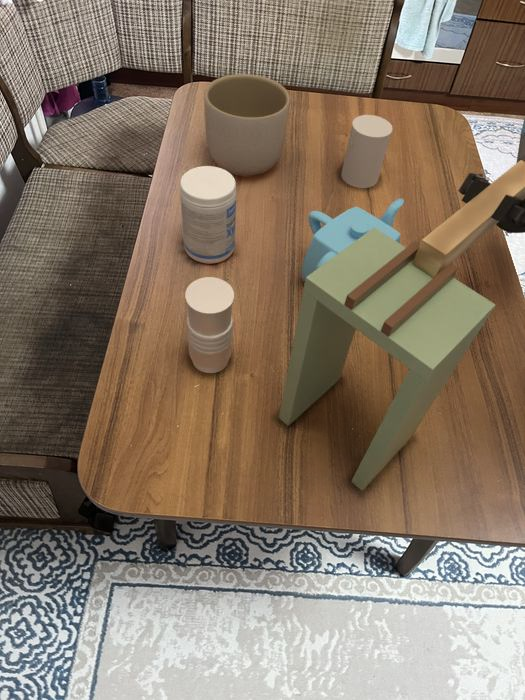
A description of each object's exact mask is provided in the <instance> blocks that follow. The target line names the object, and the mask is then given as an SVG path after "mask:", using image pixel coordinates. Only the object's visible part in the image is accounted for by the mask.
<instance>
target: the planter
mask: <svg viewBox="0 0 525 700" xmlns="http://www.w3.org/2000/svg"><path fill="white" fill-rule="evenodd" d="M203 103H204V124H205V125H204V126H205V138H206V140H205V141H206V145H207V149H208V153H209V156H210V157H211V159H212V161H213V162H214V163H215V164H216V165H217V167H218V168H221V169H224V170H226V171H228V172H229V173H230V174H231V175H233V176H234V175H235V176H239V177H253V176H257V175H261V174H263V173H266V172H267V171H269V170H271V169H272V168H273V167H274V166H275V165H276V164H277V163H278V161H279V159H280V157H281V156H282V152H283V149H284V145H285V140H286V134H287V127H288V120H289V113H290V105H291V95H290V93H289V91H288V90H287V89H286V88H285V86H284V85H282V84H281V83H279V82H277V81H275V80H273V79H271V78H268V77H265V76H261V75H256V74H250V73H249V74H248V73H237V74H234V73H233V74H229V75H225V76H221V77H218V78H216V79H214V80H212V81H211V82H210V83H209V84H207V86H206V87H205V89H204V92H203Z"/></svg>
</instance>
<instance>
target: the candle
mask: <svg viewBox="0 0 525 700" xmlns="http://www.w3.org/2000/svg"><path fill="white" fill-rule="evenodd" d="M184 294H185V295H184V298H185V299H184V300H185V302H186V305H187V317H186V333H187V343H188V354H189V355H188V356H189V357H190V360H191V362H192V364H193V366H194V368H196V369H197V370H198V371H200V372H202V373H205V374H216V373H219V372H221V371H223V370H224V369H226V368H227V366H228V364H229V361H230V358H231V356H232V354H233V353H232V352H233V350H232V343H233V339H234V316H233V314H232V313H233V304H234V301H235V291H234V288H233V287H232V286H231V284H230V283H228V282H227V281H226V280H224V279H221V278H219V277H213V276H205V277H200V278H197V279H196V280H193V281H192V282H191V283H189V285H188V286H187V288H186V290H185V292H184Z"/></svg>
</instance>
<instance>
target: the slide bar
mask: <svg viewBox="0 0 525 700" xmlns="http://www.w3.org/2000/svg"><path fill="white" fill-rule="evenodd" d="M491 183H492V184H490V185H489V186H488V187H487V188H485V189H484V190H483V191H482V192H480V193H479V194H478V195H477V196H475V197H474V198H473V199H472V200H471V201H469V202H468V203H467V204H466V203H465V204H464V205H463V206H462V207H460V209H458V210H457V211H455V212H454V213H453V214H452V215H450V216H449V217H448V218H447V219H445V220H444V221H443V222H442V223H441V224H439V225H438V226H437V227H436V228H435V229H434V230H432V231H431V232H430V233H428V234H427V235H426V236H424V237H423V238H422V239H421V241H420V242H419V243H420V246H419V248H418V251H417V253H416V255H415V258H414V260H413V263H412V264H413V265H415V266H417V267H418V268H420V269H421V270H423V271H424V272H426V273H427V274H429V275H430V276H432V277H435V276H436V275H438V274H439V273H440V272H441V271H442V270H443V269H444V268H446V267H447V266H448V265H449V264H450V263H452V264H454V262H455V261H456V260H457V259H459V257H461V256H462V255H463V254H464V253H465V252H466V251H467V250H469V249H470V248H471V247H472V246H473V245H474V244H475V243H476V242H478V241H479V240H480V239H481V238H482V237H483V236H485V234H487V233H488V232H489V231H490V230H492V228H494V227H495V226H497V225H496V224H497V223H498V222H499V221H497V220H495V219H493V218H491V216H492V215H493V213H494V212H495V210H496V209H497V207H498V206H499V204H500V203H501V201H502V200H503V198H504V197H505V195H509V196H513V197H517V198H519V199H521V200H524V199H525V155H523V156H522V157H521V158H520V159H519V161H518V163H515V164H514V165H512V166H511V167H510V168H509V169H507V170H506V171H505V172H504V173H503V174H502V175H500V176H498V178H496V179H495V180H494V181H493V182H491Z"/></svg>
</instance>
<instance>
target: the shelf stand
mask: <svg viewBox="0 0 525 700" xmlns="http://www.w3.org/2000/svg"><path fill="white" fill-rule="evenodd" d="M420 243H421V242H418V241H417V240H414V241H413V242H411V243H410V244H409V245H408V246H404V245H403V244H401V243H398V242H397V241H395V240H393V239H392V238H390V237H389V236H387V235H386V234H384V233H382V232H381V231H379V230H378V229H376V228H375V227H374V228H372V229H371V230H370V231H368V232H367V233H366V234H364V235H363V236H362V237H360V238H359V239H357V240H356V241H355V242H353V243H352V244H351V245H349V246H348V247H347V248H345V249H344V250H342V251H341V252H340V253H338V254H337V255H336V256H334V257H333V258H332V259H330V260H329V261H327V262H326V263H325V264H323V265H322V266H321V267H319V268H318V269H317V270H315V271H314V272H312V273H311V274H310V275H308V276H307V277H306V279H305V281H304V286H303V290H302V295H301V299H300V300H301V301H300V305H299V310H298V314H297V315H298V317H297V321H296V326H295V331H294V336H293V341H292V346H291V352H290V357H289V362H288V368H287V372H286V377H285V383H284V388H283V392H282V393H283V394H282V399H281V404H280V409H279V414H278V418H279V420H281V421H282V422H283V423H284V424H285V425H286V426H287V427H289V426H290V425H291V424H293V422H295V421H296V420H297V419H298V418H299V417H300V416H301V415H302V414H303V413H304V412H305V411H306V410H308V408H310V407H311V406H312V405H313V404H314V403H316V401H318V400H319V399H320V398H322V396H323V395H324V394H326V392H328V391H329V390H330V389H331V388H332V387H333V386H334V385H335V384H336V383H338V382H339V381H340V377H341V376H342V372H343V369H344V366H345V363H346V360H347V357H348V354H349V352H350V348H351V345H352V343H353V339H354V337H355V334H356V330H357V331H358V332H359V333H361V335H363V336H365V337H366V338H368V339H369V340H370V341H371V342H373V343H374V344H375V345H377V346H378V347H380V348H381V349H382V350H384V351H385V352H386V353H388V354H389V355H391V356H392V357H394V359H396V360H397V361H399V362H400V363H401V364H402V365H404V366H405V367H407V368H408V371H407V373H406V375H405V376H404V378H403V380H402V382H401V384H400V386H399V388H398V389H397V392H396V394H395V396H394V397H393V400H392V401H391V402H390V403H391V404H390V405H389V407H388V408H387V411H386V413H385V415H384V416H383V419H382V421H381V422H380V425H379V426H378V428H377V431H376V433H375V435H374V436H373V438H372V440H371V442H370V444H369V446H368V448H367V450H366V451H365V453H364V455H363V458H362V459H361V461H360V462H359V465H358V467H357V469H356V471H355V473H354V475H353V477H352V479H351V481H350V482H351V483H352V484H353V485H354V486H356V488H358V489H359V490H360V491H361V492H363V491H364V490H365V489H366V488H367V487H368V485H369V484H370V483H371V482H372V481H373V480H374V479H375V478H376V477H377V476H378V475H379V474H380V472H382V470H383V469H384V468H385V467H386V466H387V465H388V464H389V462H390V461H391V460H392V459H393V458H394V457H395V456H396V455H397V454H398V453H399V451H400V450H401V449H402V448H403V447H405V445H406V444H407V442H409V440H411V438H412V437H413V435H414V434H415V432H416V431H417V429H418V428H419V426H420V424H421V423H422V421H423V419H424V418H425V417H426V415H427V413H428V412H429V410H430V408H432V405H433V404H434V403H435V401H436V399H437V398H438V397H439V395H440V393H441V391H442V390H443V388H444V387H445V385H446V384H447V382H448V380H449V379H450V377H451V376H452V374H453V372H454V371H455V370H456V368H457V366H458V365H459V363H461V361H462V359H463V358H464V355H466V353H467V351H468V350H469V348H470V346H471V345H472V343H473V342H474V340H475V338H476V337H477V336H478V334H479V332H480V331H481V329H482V328H483V326H484V324H485V323H486V322H487V320H488V319H489V316H490V315H491V313H492V312H493V310H494V309H495V307H496V303H494V302H492V301H491V300H489V299H488V298H487V297H485V296H483V295H481V293H478V292H476V291H475V290H473V289H472V288H471V287H469V286H467V285H466V284H464V283H463V282H461V281H459V280H458V279H456V278H455V276H456V274H457V272H458V270H459V267H458V266H457V265H455V264H454V263H450V264H449V265H448V266H447V267H446V268H444V269H443V270H442V271H441V272H440V273H439V274H438V275H436V276H435V277H432V276H430V275H429V274H427V273H426V272H424V271H423V270H421V269H420V268H418V267H417V266H415V265H413V264H412V263H413V260H414V258H415V255H416V253H417V251H418V248H419V246H420Z"/></svg>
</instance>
